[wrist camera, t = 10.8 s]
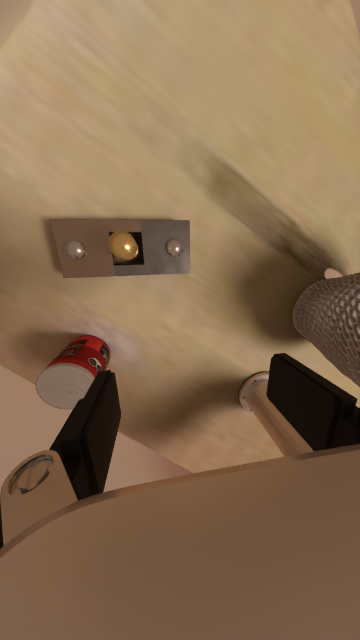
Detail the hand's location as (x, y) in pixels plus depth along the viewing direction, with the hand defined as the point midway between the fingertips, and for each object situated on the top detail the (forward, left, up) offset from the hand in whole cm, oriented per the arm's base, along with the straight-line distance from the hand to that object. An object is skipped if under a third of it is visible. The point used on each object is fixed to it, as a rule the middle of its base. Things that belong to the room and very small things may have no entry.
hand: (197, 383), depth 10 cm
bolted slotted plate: (+5, -9, -26) cm, 28 cm away
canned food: (+15, +10, -26) cm, 32 cm away
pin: (+5, -9, -26) cm, 28 cm away
